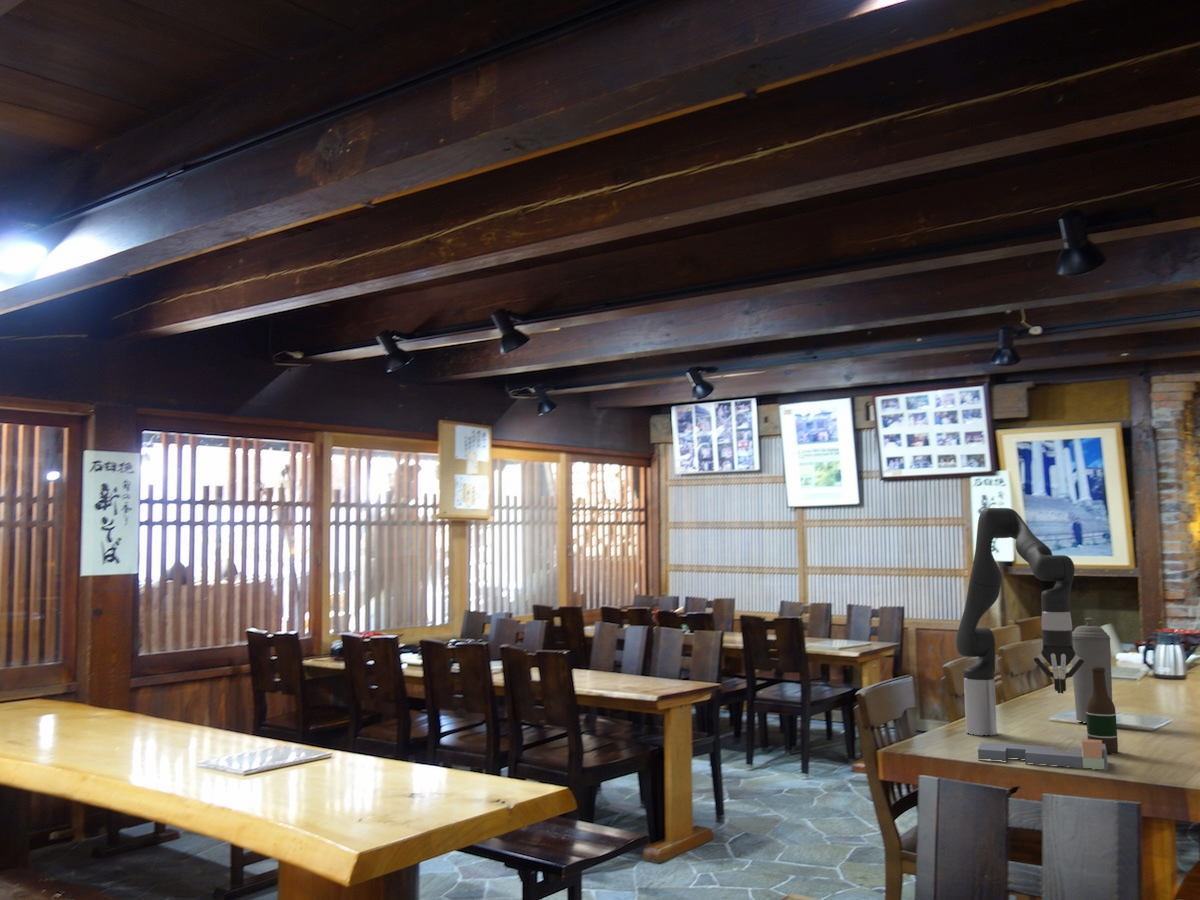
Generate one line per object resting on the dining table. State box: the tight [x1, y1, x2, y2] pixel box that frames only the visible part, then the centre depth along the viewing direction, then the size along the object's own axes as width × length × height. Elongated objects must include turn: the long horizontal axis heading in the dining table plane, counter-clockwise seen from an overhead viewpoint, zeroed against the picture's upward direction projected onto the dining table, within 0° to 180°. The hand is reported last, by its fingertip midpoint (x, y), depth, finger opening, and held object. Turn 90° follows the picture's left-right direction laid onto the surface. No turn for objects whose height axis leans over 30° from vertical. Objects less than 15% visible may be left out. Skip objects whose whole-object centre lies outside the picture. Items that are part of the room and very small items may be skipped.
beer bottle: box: [1086, 666, 1119, 754], centre depth 283 cm, size 8×8×24 cm
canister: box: [1071, 617, 1113, 723], centre depth 331 cm, size 13×13×35 cm
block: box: [1081, 738, 1103, 759], centre depth 260 cm, size 4×4×4 cm
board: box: [977, 741, 1109, 771], centre depth 269 cm, size 12×32×5 cm, turn 65°
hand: (1060, 692), depth 266 cm, fingers closed
